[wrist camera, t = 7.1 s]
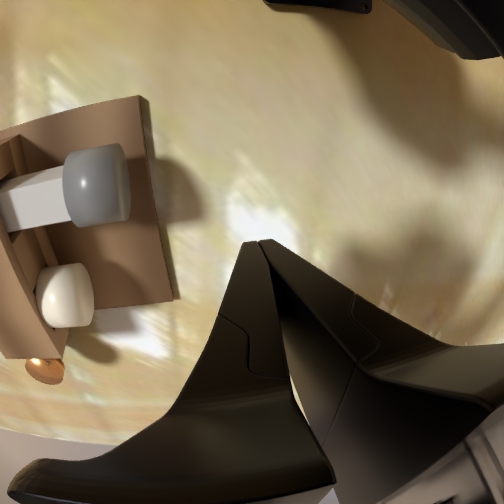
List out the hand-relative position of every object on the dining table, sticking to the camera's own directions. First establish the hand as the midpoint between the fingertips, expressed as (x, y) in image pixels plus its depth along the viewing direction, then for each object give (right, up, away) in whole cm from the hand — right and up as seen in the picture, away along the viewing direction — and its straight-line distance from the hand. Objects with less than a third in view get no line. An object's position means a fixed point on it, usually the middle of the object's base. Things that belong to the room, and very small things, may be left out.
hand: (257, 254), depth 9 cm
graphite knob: (-11, +4, +6) cm, 13 cm away
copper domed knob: (-17, -7, +14) cm, 23 cm away
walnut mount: (-12, +2, +9) cm, 15 cm away
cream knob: (-15, -2, +9) cm, 18 cm away
